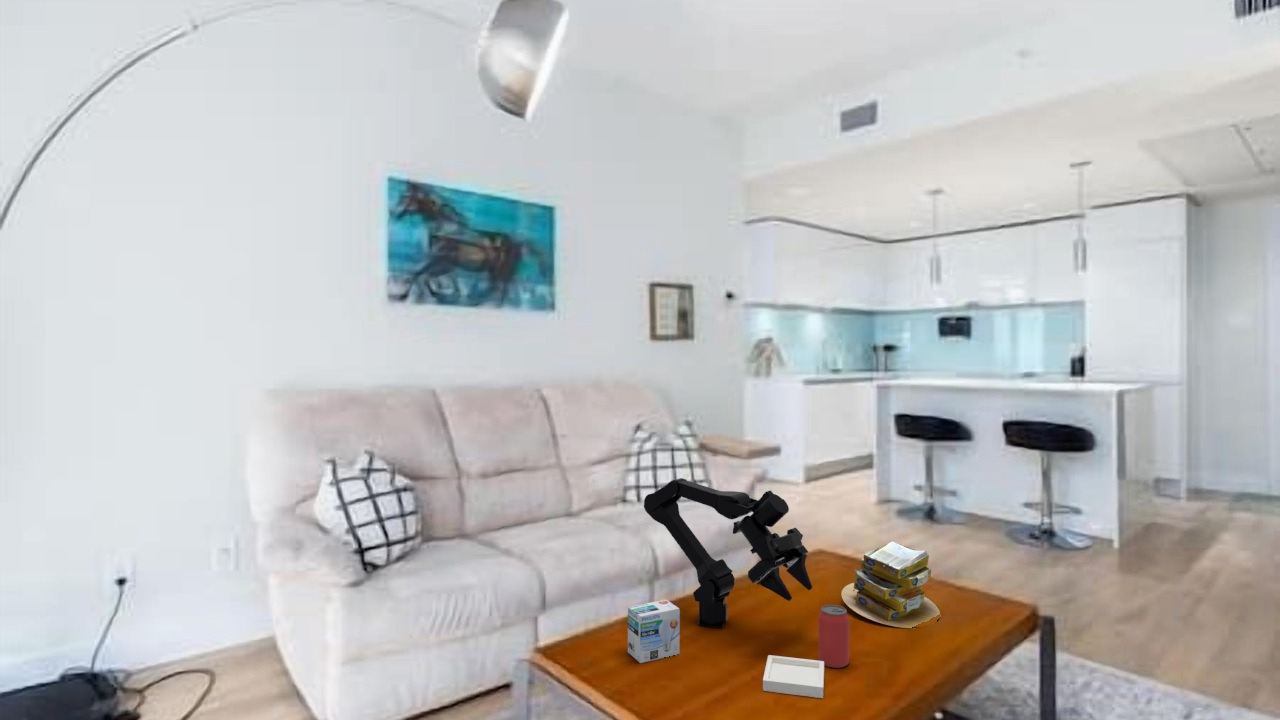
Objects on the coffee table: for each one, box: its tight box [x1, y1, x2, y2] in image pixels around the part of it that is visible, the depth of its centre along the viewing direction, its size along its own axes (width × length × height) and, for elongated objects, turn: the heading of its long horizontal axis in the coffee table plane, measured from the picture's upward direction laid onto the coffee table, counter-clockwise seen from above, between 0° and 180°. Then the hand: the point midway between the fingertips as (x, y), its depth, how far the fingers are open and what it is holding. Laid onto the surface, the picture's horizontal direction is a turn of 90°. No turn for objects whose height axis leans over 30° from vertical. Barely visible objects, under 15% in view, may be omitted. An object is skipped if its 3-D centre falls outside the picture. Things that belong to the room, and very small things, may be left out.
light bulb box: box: [627, 599, 681, 664], centre depth 161 cm, size 11×7×11 cm, turn 117°
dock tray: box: [762, 654, 825, 699], centre depth 148 cm, size 12×12×2 cm
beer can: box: [818, 604, 850, 669], centre depth 156 cm, size 7×7×12 cm
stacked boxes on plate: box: [841, 541, 941, 629], centre depth 187 cm, size 25×25×17 cm
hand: (801, 594), depth 162 cm, fingers open, 9 cm apart
